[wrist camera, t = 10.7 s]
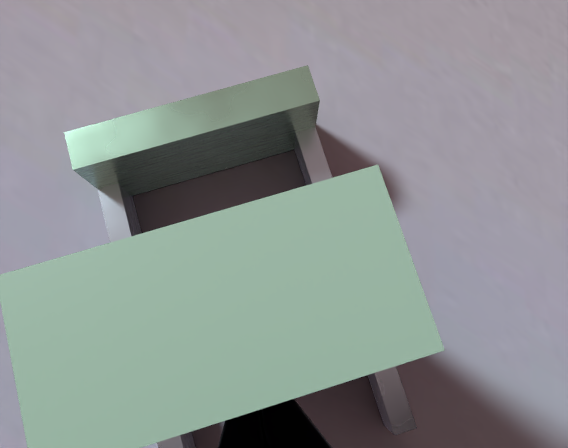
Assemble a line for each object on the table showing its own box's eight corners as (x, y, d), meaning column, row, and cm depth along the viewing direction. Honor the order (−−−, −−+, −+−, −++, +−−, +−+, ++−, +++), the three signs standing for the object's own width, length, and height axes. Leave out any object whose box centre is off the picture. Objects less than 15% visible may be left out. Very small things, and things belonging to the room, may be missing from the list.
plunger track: (404, 418, 17) (437, 442, 13) (183, 491, 16) (155, 535, 13) (302, 115, 19) (307, 65, 15) (105, 170, 18) (64, 132, 15)
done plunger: (340, 338, 17) (445, 350, 6) (195, 383, 17) (34, 481, 6) (318, 268, 18) (378, 164, 7) (176, 310, 17) (-4, 275, 6)
